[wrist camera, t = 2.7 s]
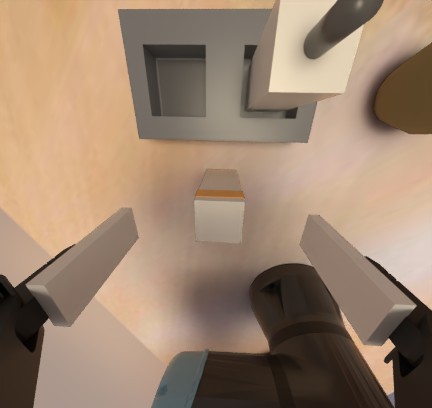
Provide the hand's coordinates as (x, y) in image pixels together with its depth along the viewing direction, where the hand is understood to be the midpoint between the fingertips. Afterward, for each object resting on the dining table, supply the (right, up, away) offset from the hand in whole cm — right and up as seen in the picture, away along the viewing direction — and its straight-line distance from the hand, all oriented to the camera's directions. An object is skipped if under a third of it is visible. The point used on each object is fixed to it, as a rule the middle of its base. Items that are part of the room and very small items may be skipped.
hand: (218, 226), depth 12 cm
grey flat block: (+1, +15, +7) cm, 16 cm away
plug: (+1, +5, +11) cm, 12 cm away
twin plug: (+5, +14, +5) cm, 16 cm away
